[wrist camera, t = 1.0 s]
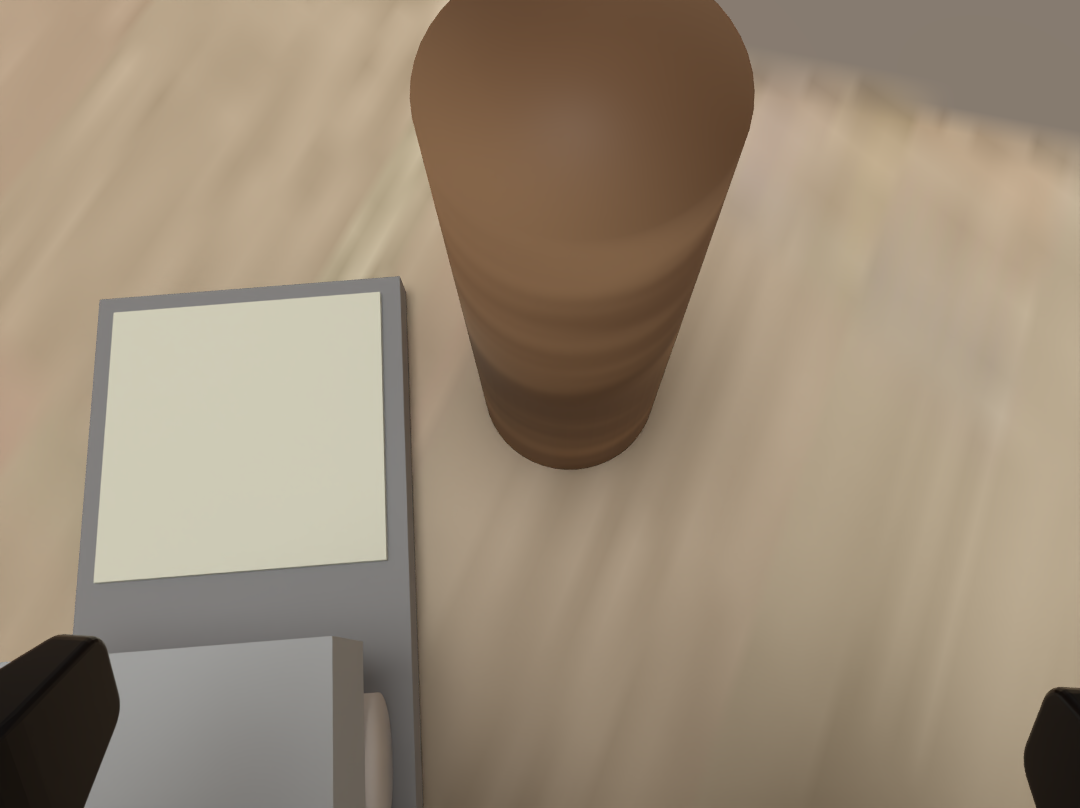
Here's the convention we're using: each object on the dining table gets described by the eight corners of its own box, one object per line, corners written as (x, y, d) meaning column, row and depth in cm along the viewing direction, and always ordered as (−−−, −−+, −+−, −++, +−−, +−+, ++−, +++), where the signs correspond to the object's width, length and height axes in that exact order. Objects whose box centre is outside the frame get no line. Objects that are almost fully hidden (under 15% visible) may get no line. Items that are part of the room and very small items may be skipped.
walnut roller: (580, 504, 22) (605, 308, 10) (450, 396, 23) (338, 104, 11) (688, 377, 23) (823, 66, 11) (559, 279, 24) (561, -105, 12)
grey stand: (435, 1164, 18) (372, 1415, 12) (53, 1196, 18) (-207, 1463, 12) (405, 292, 24) (353, 159, 18) (117, 314, 24) (-34, 190, 18)
